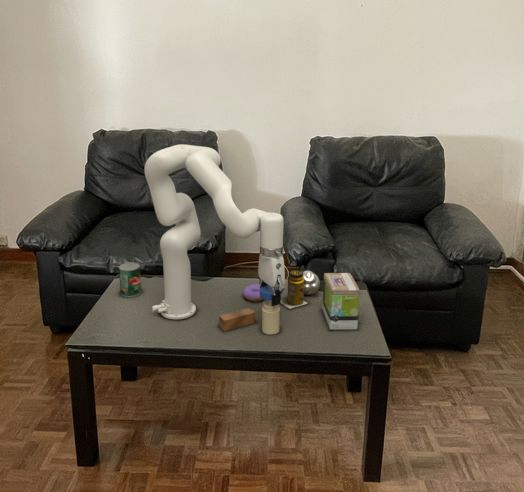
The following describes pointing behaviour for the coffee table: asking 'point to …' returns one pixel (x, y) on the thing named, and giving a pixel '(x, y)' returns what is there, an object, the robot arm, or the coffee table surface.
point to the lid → (266, 292)
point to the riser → (237, 319)
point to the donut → (252, 293)
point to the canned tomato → (130, 279)
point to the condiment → (295, 290)
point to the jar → (270, 318)
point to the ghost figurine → (310, 283)
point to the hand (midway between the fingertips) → (269, 300)
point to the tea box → (340, 301)
